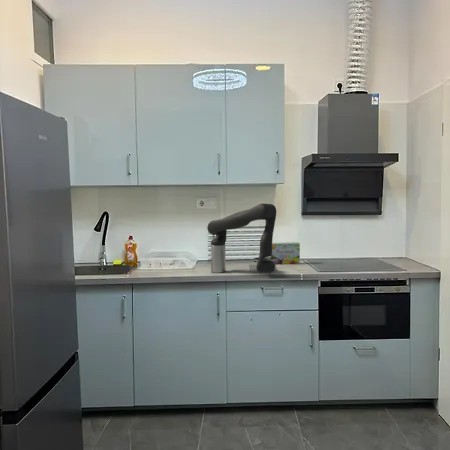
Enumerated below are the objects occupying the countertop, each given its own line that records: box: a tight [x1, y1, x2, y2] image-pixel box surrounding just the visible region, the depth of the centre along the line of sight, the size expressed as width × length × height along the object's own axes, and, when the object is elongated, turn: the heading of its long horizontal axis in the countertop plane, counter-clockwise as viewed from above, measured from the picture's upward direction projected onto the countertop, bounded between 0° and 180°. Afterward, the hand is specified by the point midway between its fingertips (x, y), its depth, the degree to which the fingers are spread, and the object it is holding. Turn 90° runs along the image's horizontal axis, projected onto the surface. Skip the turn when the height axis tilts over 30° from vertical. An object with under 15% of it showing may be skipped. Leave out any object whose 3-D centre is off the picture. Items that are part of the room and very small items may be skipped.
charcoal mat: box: [248, 264, 279, 273], centre depth 283 cm, size 18×28×1 cm, turn 177°
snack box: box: [269, 241, 301, 265], centre depth 303 cm, size 21×6×15 cm, turn 94°
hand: (263, 258), depth 278 cm, fingers closed
